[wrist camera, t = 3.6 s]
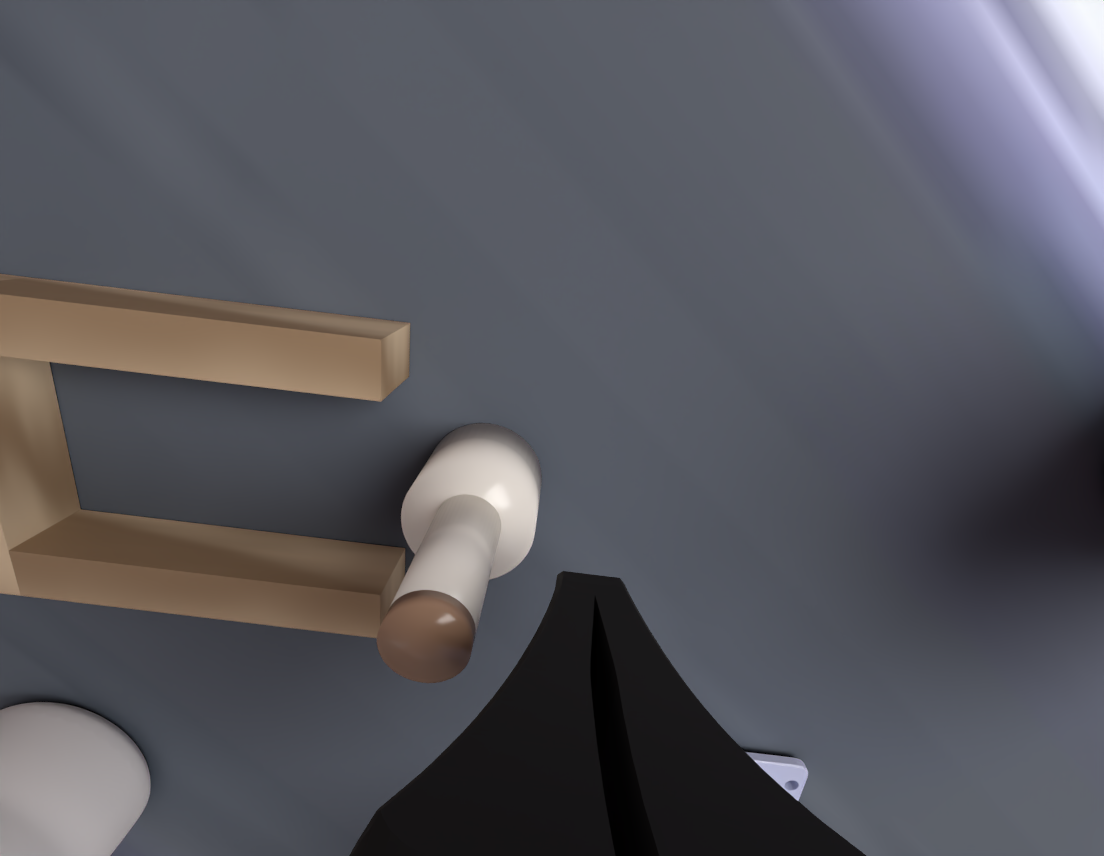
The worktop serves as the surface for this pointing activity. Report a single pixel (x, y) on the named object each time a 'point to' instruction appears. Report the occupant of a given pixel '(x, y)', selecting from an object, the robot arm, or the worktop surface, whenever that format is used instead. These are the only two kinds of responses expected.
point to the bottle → (459, 546)
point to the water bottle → (67, 782)
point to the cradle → (165, 545)
